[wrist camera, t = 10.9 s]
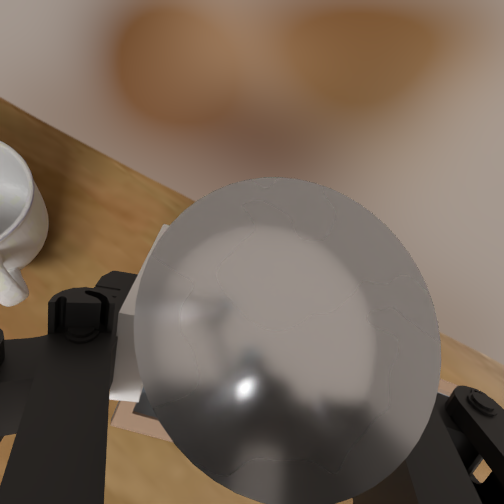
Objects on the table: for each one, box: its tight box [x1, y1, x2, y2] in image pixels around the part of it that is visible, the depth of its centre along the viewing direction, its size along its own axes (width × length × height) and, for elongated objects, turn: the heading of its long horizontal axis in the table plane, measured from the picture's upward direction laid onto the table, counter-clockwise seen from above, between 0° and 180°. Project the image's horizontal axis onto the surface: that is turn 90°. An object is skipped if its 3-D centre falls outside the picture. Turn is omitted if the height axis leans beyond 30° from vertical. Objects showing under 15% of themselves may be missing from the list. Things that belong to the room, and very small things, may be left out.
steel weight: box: [134, 177, 441, 504], centre depth 11 cm, size 5×5×12 cm
